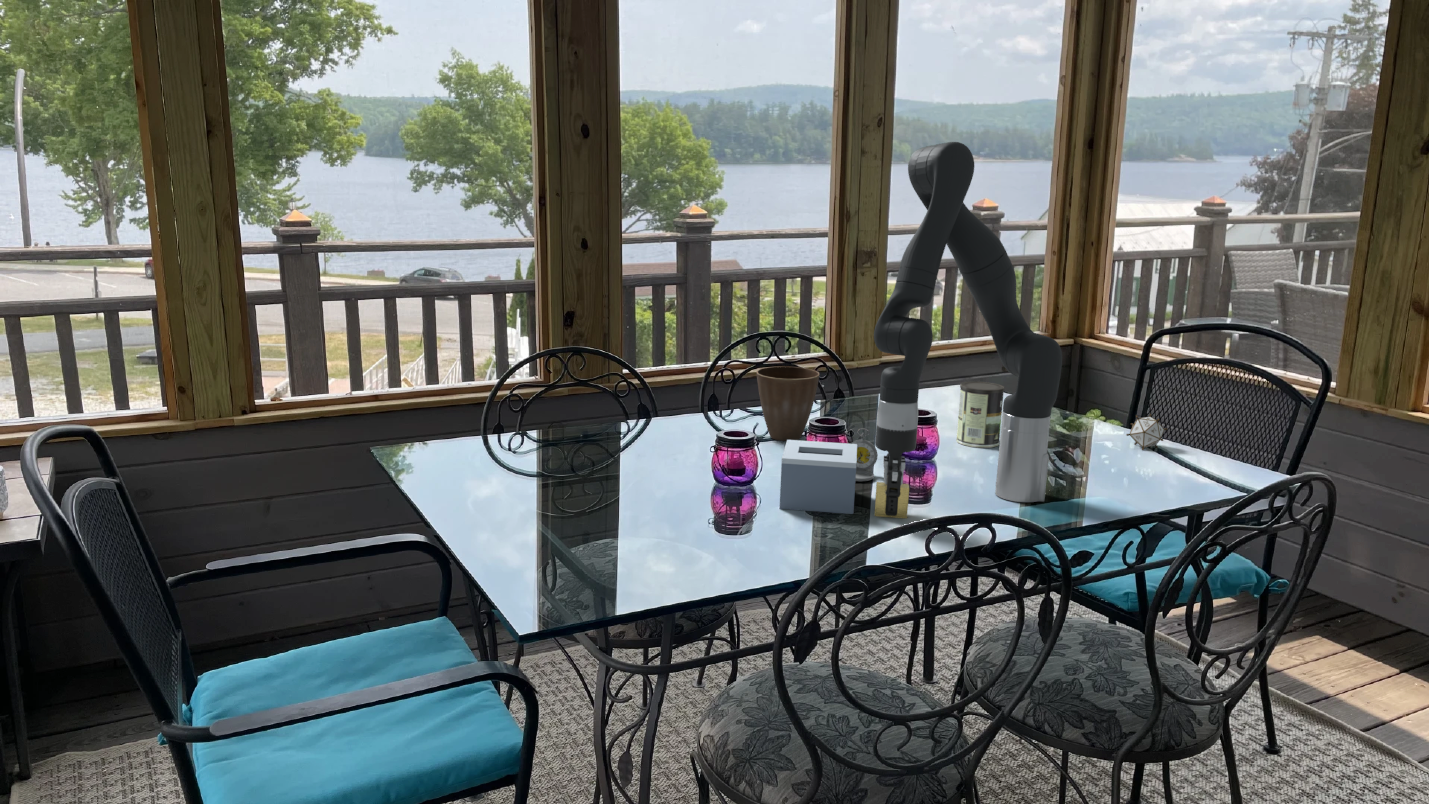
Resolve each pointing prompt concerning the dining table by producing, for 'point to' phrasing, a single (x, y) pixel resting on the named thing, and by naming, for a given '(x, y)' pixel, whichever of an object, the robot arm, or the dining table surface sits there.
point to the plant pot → (787, 399)
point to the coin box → (818, 476)
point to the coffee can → (980, 414)
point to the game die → (1146, 431)
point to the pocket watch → (865, 458)
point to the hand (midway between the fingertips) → (890, 512)
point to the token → (881, 500)
